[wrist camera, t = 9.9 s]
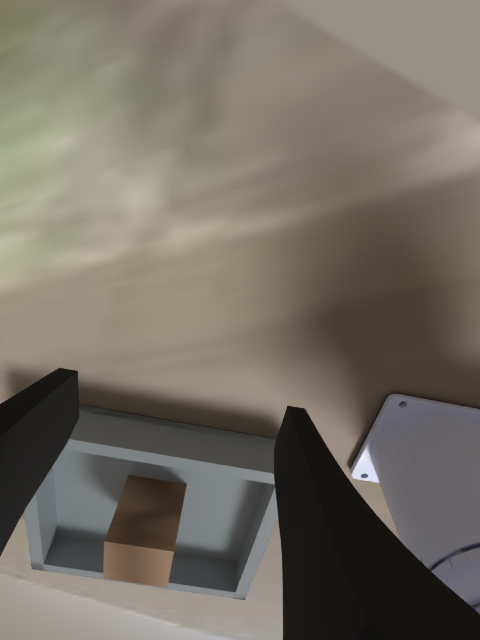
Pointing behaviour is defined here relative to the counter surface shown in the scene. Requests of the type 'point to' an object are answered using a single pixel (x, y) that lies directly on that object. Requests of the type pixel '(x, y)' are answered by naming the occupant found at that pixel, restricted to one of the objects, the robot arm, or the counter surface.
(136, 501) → the block
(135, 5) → the counter surface
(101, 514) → the bin
